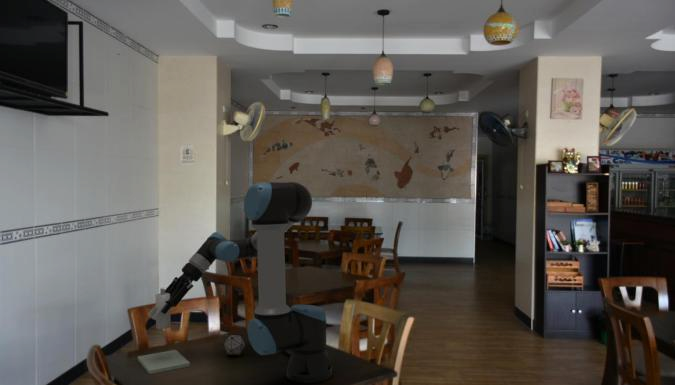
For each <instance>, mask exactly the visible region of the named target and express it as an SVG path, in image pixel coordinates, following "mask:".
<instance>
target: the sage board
mask: <svg viewBox="0 0 675 385" xmlns="http://www.w3.org/2000/svg"><path fill="white" fill-rule="evenodd" d="M137 361H138V363H139V364H140V365H141V366H142V367H143V368H144V370H145V371H146V372H147V374H148V375H152V374H158V373H162V372H167V371H173V370H177V369H183V368H187V367H188V368H189V367H190V366H191V362H190V361H189V360H188V359H187V358H185V356H183V355H182V354H181V353H180V352H179V351H178V350H176V349H172V350H167V351H166V350H165V351H163V352H162V351H161V352H156V353H155V352H154V353H149V354H145V355H138V356H137Z"/></svg>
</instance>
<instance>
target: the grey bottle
mask: <svg viewBox="0 0 675 385" xmlns="http://www.w3.org/2000/svg"><path fill="white" fill-rule="evenodd" d="M159 290H160V291H159V292H160V293H156V294H155V305H156V313H157V312H158V311H159V309H160V308H161V307H162V306H163V305H164V303H165V301H168V300H169V299H170V293H165V290H166V289H165V288H164V287H162V288H160V289H159ZM166 304H167V303H166ZM171 325H172V324H171V309H170V310H169V311H168V312H167V313H166V314H165V316H164V317H163V318H162V319H161V320H160V322H157V321H156V320H155V328H156V329H157V330H165V329H170V328H171V327H172V326H171Z"/></svg>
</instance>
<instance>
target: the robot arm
mask: <svg viewBox="0 0 675 385" xmlns="http://www.w3.org/2000/svg"><path fill="white" fill-rule="evenodd" d="M312 207H313V198H312V195H311V193H310V191H309V190H308V188H307V187H306V186H304V185H302V184H301V183H299V182H296V181H295V182H294V181H293V182H292V181H288V182H287V181H286V182H282V181H281V182H279V181H278V182H277V181H276V182H275V181H274V182H273V181H272V182H271V181H269V182H267V181H264V182H256V183H253V184H252V185H251V186H249V188H248V189H247V191H246V193H245V196H244V202H243V211H244V213H245V214H244V215H245V217H246V218H247V219H248V220H250V221H251V226H252V227H253V228H254V229H255V230H256V231H255V232H254V234H253V235H251V236H250V237H249V238H240V239H237V238H236V239H227V238H226V237H225V236H224V235H223V234H221V233H219V232H216V231H215V232H212V233H211V235H209V236H208V237H207V239H206V240H205V241H204V242H203V243H202V245H201V246H199V248H198V249H197V251H196V252H195V253H194V254H193V255H192V256H191V257H190V258H189V260H188V262H186V263H185V265H183V267H182V268H181V272H182V274H181V275H180V276H179V277H177V276H175V277H174V278H173V280H172V282H171V283H170V284H169V285H168V286H167V287H166V289H165V293H170V299H169V300H168V301H165V303H164V305H163V306H162V307H161V308H160V309H159V311H158V312H157V313H156V304H155V305H154V306H153V308H151V310H149V312H148V313H147V316H148V317H150V319H152V320H155V322H156V321H157V322H160V320H161V319H162V318H163V317H164V316H165V314H166V313H167V312H168V311H169V310H170V311H171V308H173V307H174V308H176V307H178V305H179V304H180V302H181V301H182V299H184V297H185V296H186V294H188V292H189V291H190V290H192V288H193V287H194V284H193V282H198V281H199V280H200V279H201V278H202V277H203V274H204V273H206V272H207V271H209V270H210V267H211V266H212V265H213V263H214V262H215V261H216V260H218V261H221V262H223V263H224V262H225V263H232V262H233V261H235V260H244V259H254V258H257V280H258V281H257V283H258V285H257V286H258V306H257V307H256V308H255V309H254V313H253V314H254V316H253V317H254V318H251V319H250V320H248V324H247V327H246V328H247V337H248V341H249V343H250V345H251V347H252V349H253V350H254V351H255V352H256V353H257V354H258V355H260V356H267V355H275V354H277V353H281V352H286V350H290V349H292V354H291V355H290V358H289V361H288V365H287V367H286V377H287V379H288V380H290V381H292V382H295V383H302V384H313V383H319V382H320V383H321V382H324V381H326V380H328V379H330V378H332V376H333V366H332V364H331V361H330V358H329V355H328V352H327V313H326V311H325V309H324V308H323V307H321V306H318V305H312V304H293V305H292V306H291V308H290V307H289V306H288V305H287V296H286V295H287V294H286V292H287V290H286V288H287V287H286V262H285V261H286V260H285V259H286V258H285V254H286V253H285V251H286V250H285V233H286V232H287V231H288V230H289V229H290V228H291V227H292V226H293V225H294V224H296V223H297V224H298V223H300V222H302V221H303V220H304V219H305V218H306V217H307V216H308V215H309V213H310V212H311V209H312ZM166 303H167V304H166Z"/></svg>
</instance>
